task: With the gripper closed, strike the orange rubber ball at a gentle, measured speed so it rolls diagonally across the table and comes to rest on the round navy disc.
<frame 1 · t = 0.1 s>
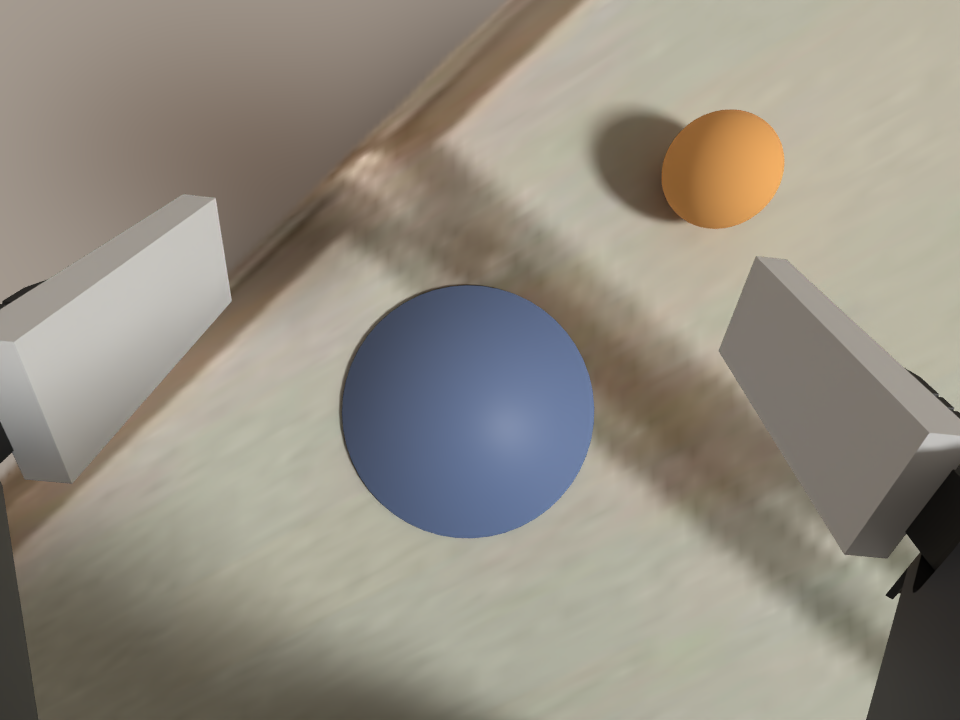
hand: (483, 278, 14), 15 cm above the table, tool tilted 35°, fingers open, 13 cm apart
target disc: (469, 410, 29), on the table
ball: (720, 171, 28), on the table
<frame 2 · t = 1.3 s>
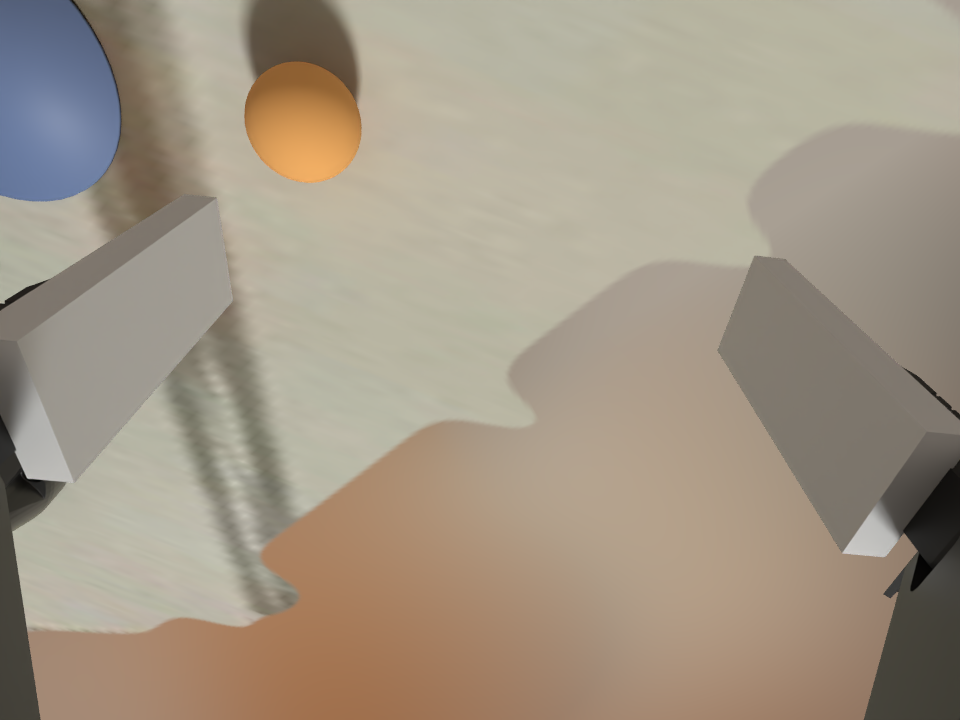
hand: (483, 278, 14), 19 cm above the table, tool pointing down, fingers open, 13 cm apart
ball: (304, 124, 28), on the table
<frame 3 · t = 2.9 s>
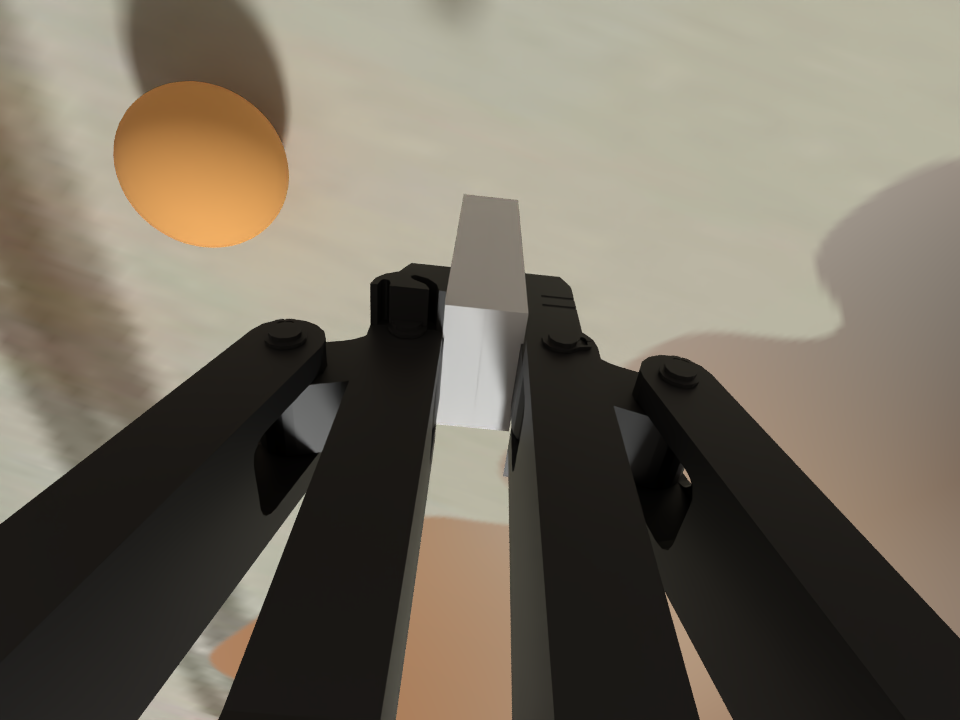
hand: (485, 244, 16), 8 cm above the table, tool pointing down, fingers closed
ball: (206, 168, 20), on the table
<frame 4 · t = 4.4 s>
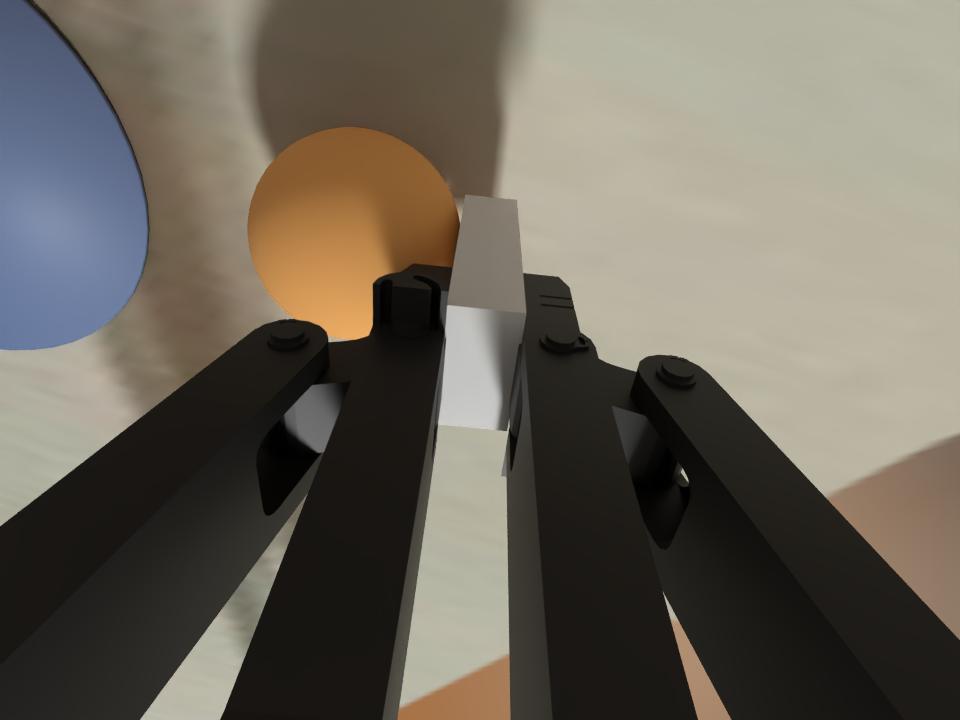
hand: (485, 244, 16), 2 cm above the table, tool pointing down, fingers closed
ball: (358, 237, 15), on the table, touching gripper
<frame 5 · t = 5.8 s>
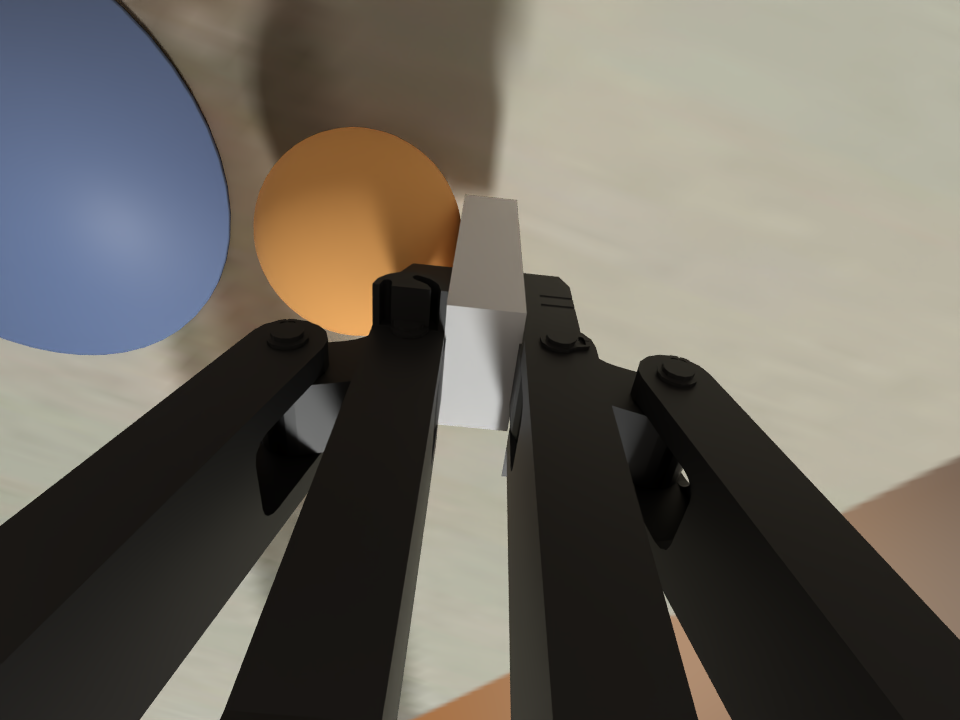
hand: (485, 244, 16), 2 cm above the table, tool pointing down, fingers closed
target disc: (14, 173, 17), on the table
ball: (361, 235, 15), on the table, touching gripper
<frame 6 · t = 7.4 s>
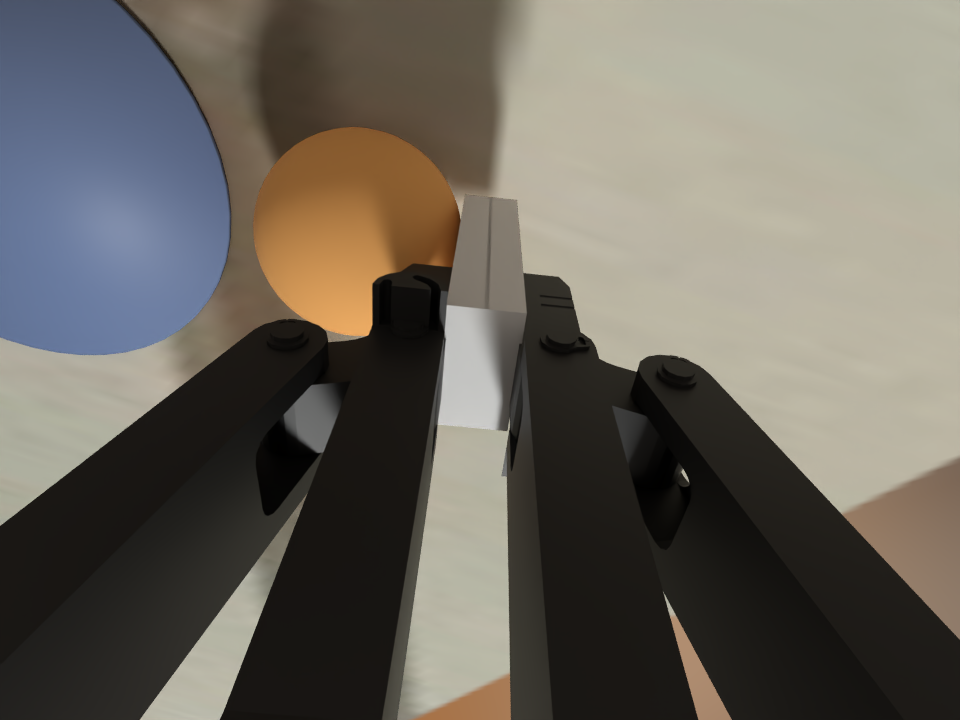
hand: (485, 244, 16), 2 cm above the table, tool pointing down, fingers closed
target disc: (15, 173, 17), on the table
ball: (361, 235, 15), on the table, touching gripper
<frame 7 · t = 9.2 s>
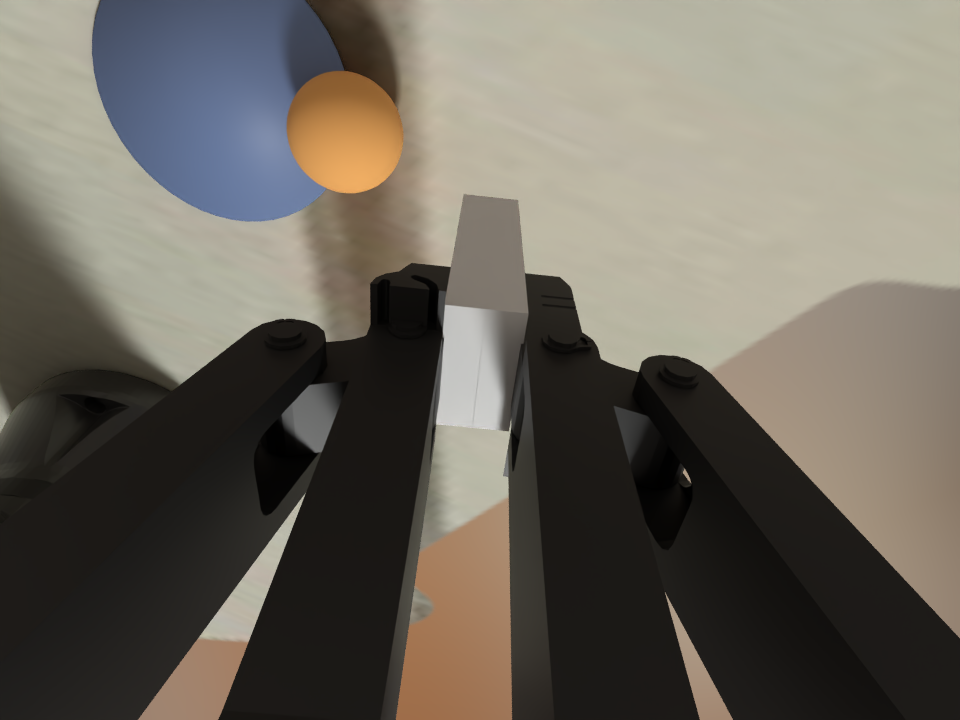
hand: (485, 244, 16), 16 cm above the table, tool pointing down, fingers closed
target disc: (226, 98, 29), on the table
ball: (346, 134, 27), on the table
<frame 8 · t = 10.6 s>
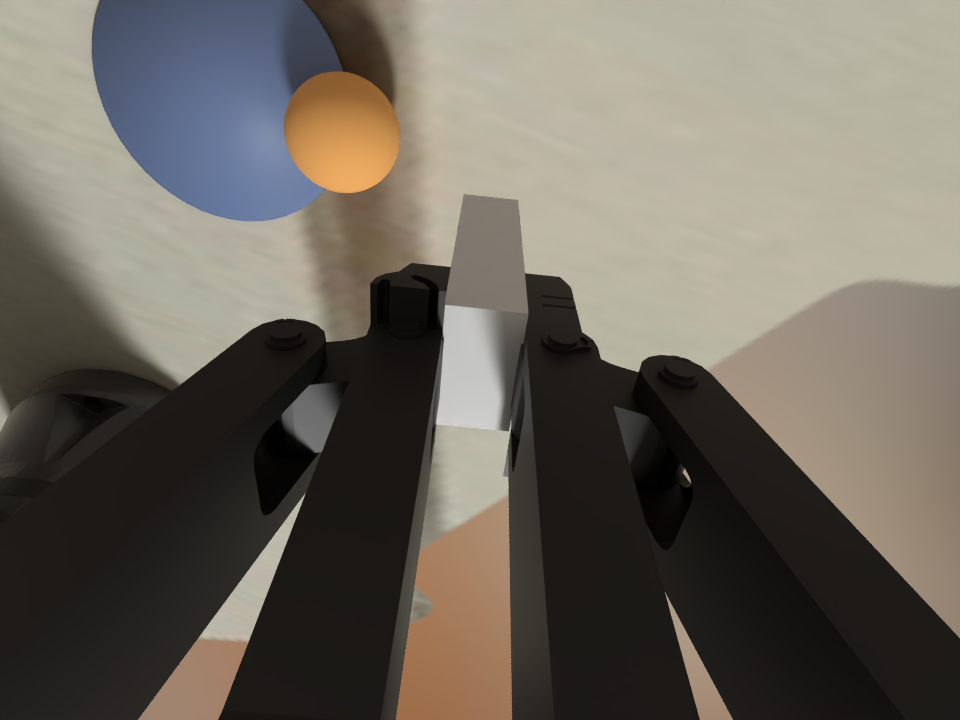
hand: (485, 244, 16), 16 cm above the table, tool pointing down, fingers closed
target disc: (225, 98, 29), on the table
ball: (343, 134, 28), on the table
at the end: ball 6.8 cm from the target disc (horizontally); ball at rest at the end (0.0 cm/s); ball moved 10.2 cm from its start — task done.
